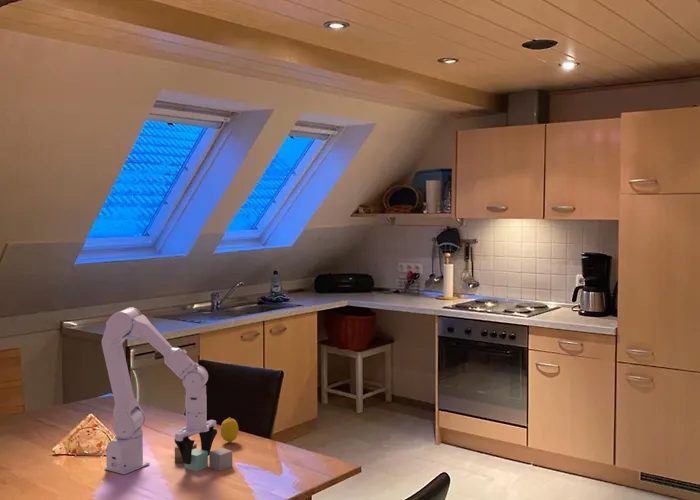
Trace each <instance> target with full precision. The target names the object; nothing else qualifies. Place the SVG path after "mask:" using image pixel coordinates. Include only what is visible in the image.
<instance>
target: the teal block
mask: <svg viewBox="0 0 700 500" xmlns="http://www.w3.org/2000/svg"><path fill="white" fill-rule="evenodd" d="M208 465H209V456H208V451H205V450H201V449H200V448H197V449H196V448H195V449H193V450H192V454H191V464H184V469H185V470H188V471H192V472H200V471H201V470H203V469H206V468H207V467H209V466H208Z"/></svg>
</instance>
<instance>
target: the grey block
mask: <svg viewBox="0 0 700 500" xmlns="http://www.w3.org/2000/svg"><path fill="white" fill-rule="evenodd" d="M208 465H209V466H208V467H209V468H211V469H214V470H216V471H219V472H221V471H223V470H227V469H229V468H232V467H233V450H230V449H228V448H226V447H225V448H224V447H220V448H215V449H214V450H210V452H209V456H208Z"/></svg>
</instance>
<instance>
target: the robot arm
mask: <svg viewBox="0 0 700 500" xmlns="http://www.w3.org/2000/svg"><path fill="white" fill-rule="evenodd" d="M129 336H130V337H139V338H143V339H144V340H145V341H146V342H147V343H148V344H150V345H151V346H152V347H153V348H154V349H155V350H156V351H158V353H160V354H161V355H162V356H163V359H164V360H163V363H164V364H165V365H166V366H167V367H168V368H169V369H170V370H171V371H172V372H173V373H174V374H175V376H177V377H178V378H179V379H180V380H182V385H183V388H185V426H184V427H183V428H182V429H180V430H179V431H177V432H175V433H174V443H175V444H176V446H178V448H179V450H180V453H181V456H182V459H183V463H184V464H183V465H185V464H191V454H192V447H193V444H195V440H192V439H191V438H190V437H192V436H194V435H197V434H198V435H199V438H200V446H201V447H200V448H201V450H205V451H208V457H209V452H210V451H212V450H211V449H212V445H213V443H214V440H215V438H216V435H217V434H218V429H217V420H214V419H209V420H207V413H208V412H207V411H208V409H207V398H208V397H207V385H206V384H207V382H208V380H209V373H208V370H207V369H206V368H205V367H204V366H202V365H200V364H199V363H198V362H195V361H194V360H192V358H190V357H189V356H188V354H187V353H188V351H186V349H181V348H180V347H173V346H172V345H171V343H170V342H168V340H166V338H165V337H164V336H163V335H162V334H161V333H160V332H159V330H158V329H157V328H156V327H155V326H154V325H153V324H152V323H151V321H150V320H149V318H147V316H145V314H142V313H141V311H140V310H139V309H138V308H136V307H127V308H124V309H123V310H120V311H117V312H114V313H112V315H111V316H109V318H108V320H107V321H106V322H105V328H104V333H103V336H102V338H101V347H102V352H103V356H104V361H105V365H106V369H107V373H108V379H109V383H110V387H111V388H110V389H111V391H112V392H111V393H112V396H113V401H114V407H113V412H112V415H113V416H112V417H113V423H112V431H113V433H114V435H115V437H114V438H113V439H112V440H109V442H108V443H107V445H106V466H104V470H106V471H110V472H113V473H117V474H120V475H126V474H129V473H131V472H134V471H136V470H138V469H141V468H144V467H146V466H148V465H150V462H149V461H146V460H144V441H143V440H144V435H143V433H144V432H143V430H142V426H143V425H144V424H145V422H146V414H145V412H144V410H143V409H142V407H141V406H140V403H139V401H138V400H137V399H136V398H135V395H134V390H133V385H132V382H131V377H130V371H129V369H128V363H127V359H126V355H125V350H124V346H123V343H124V342H125V341H126V339H127V338H128V337H129Z"/></svg>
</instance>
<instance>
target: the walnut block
mask: <svg viewBox="0 0 700 500" xmlns="http://www.w3.org/2000/svg"><path fill="white" fill-rule="evenodd" d="M197 446H198V445H197V443H194V444H193V447H192V450H193V449H195V448H196V449H198V448H197ZM174 463H176V464H177V463H178V464H181V465H182V464H183V465H185V464H184V463H183V459H182V456H181V453H180V450H179V448H178V446H177V445H176V446H175V447H174Z"/></svg>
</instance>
